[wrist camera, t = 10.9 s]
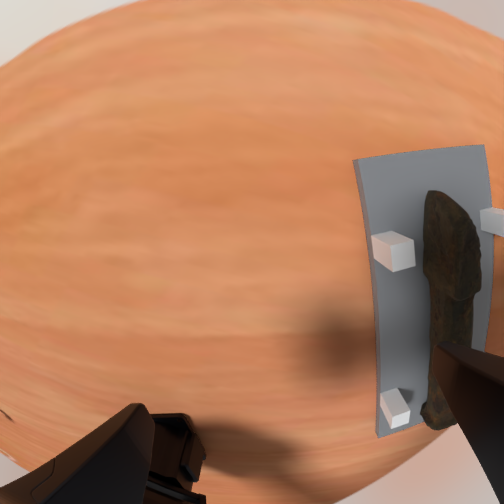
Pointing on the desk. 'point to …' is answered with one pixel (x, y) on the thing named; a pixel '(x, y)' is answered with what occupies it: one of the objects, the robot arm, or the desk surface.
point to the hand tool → (448, 288)
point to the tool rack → (417, 264)
